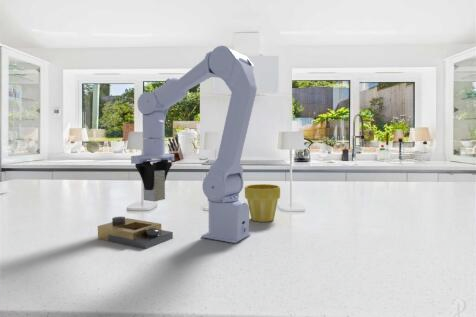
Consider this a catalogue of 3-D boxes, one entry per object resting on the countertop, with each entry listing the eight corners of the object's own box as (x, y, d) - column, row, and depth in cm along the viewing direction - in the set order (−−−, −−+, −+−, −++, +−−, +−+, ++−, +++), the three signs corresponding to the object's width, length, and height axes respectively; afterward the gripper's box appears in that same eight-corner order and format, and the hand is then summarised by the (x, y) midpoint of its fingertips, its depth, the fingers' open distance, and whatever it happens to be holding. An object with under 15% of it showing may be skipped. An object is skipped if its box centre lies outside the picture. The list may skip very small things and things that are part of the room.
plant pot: (237, 219, 99) (237, 186, 98) (259, 213, 106) (259, 182, 106) (265, 225, 92) (265, 190, 91) (286, 219, 99) (287, 186, 99)
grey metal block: (164, 199, 93) (164, 170, 92) (154, 201, 89) (154, 171, 89) (154, 197, 95) (153, 169, 94) (143, 200, 91) (143, 170, 91)
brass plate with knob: (172, 238, 80) (172, 220, 80) (145, 249, 72) (144, 229, 72) (127, 229, 87) (127, 213, 87) (97, 238, 80) (97, 220, 79)
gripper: (161, 138, 99) (161, 184, 100) (122, 138, 87) (123, 191, 88) (179, 138, 96) (180, 186, 97) (142, 138, 83) (143, 193, 84)
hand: (154, 188), depth 92 cm, fingers closed on grey metal block, 4 cm apart
